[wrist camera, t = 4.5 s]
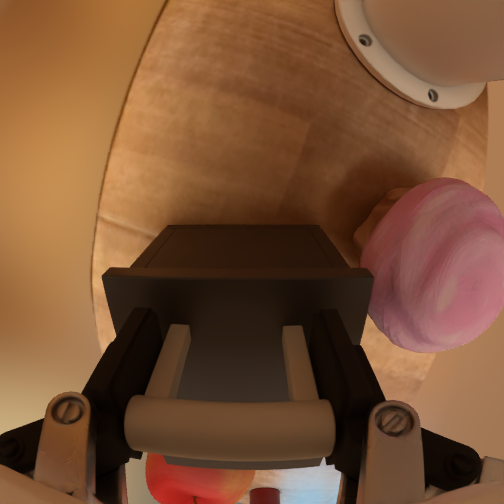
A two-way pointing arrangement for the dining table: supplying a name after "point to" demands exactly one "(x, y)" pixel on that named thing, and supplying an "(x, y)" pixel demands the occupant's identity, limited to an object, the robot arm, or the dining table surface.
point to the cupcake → (434, 264)
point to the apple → (195, 483)
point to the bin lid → (235, 362)
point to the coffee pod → (265, 496)
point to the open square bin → (241, 248)
